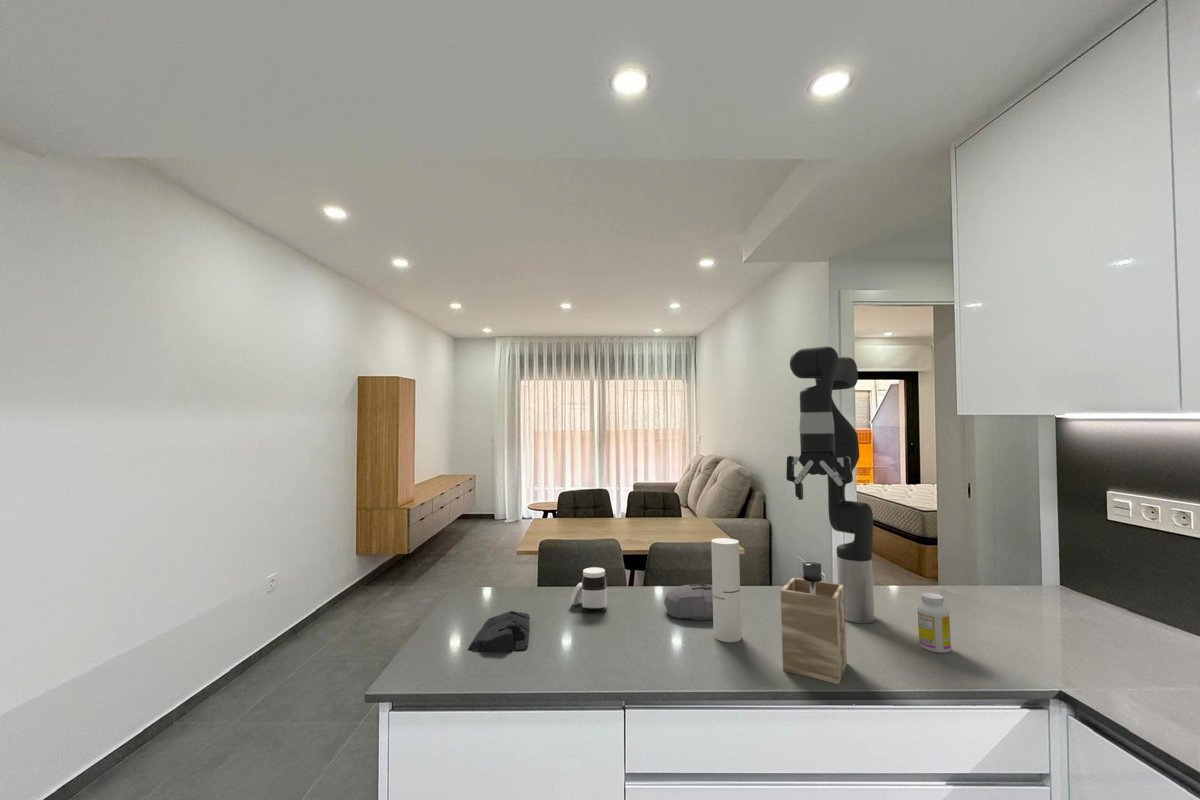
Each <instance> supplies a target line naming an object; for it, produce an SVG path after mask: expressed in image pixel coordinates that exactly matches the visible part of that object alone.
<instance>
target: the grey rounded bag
mask: <svg viewBox="0 0 1200 800" xmlns="http://www.w3.org/2000/svg"><path fill="white" fill-rule="evenodd" d="M663 603H664V606H665V609H666V613H667V614H668V615H669V616H671V617H674V618H677V619H685V620H691V621H697V620H698V621H708V620H709V621H710V620H712V621H713V587H712V584H710V583H706V584H705V583H693V584H683V585H680V586H676V587H673V588H672V589H671V590H669V591H668V592H666V595H665V597H664V600H663Z"/></svg>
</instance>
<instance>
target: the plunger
mask: <svg viewBox="0 0 1200 800" xmlns="http://www.w3.org/2000/svg"><path fill="white" fill-rule="evenodd" d="M822 575H823V574H822V564H821V563H819V562H814V561H804V562H802V579H804V580H806V581H810V594H815V595H816V590H815V582H820V581H821V582H823V580H822Z"/></svg>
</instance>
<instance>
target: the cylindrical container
mask: <svg viewBox="0 0 1200 800" xmlns="http://www.w3.org/2000/svg"><path fill="white" fill-rule="evenodd" d="M710 543H711V577H712V578H711V579H712V582H711V583H712V584H711V585H712V587H713V619H712V621H713V622H712V623H713V624H712V625H713V638H715V639H716V640H718V641H721V642H724V643H737V642H739V641H741V640H742V610H741V607H742V606H741V578H740V577H741V575H740V574H741V573H740V570H741V569H740V541H739V540H737V539H734V538H727V537H725V538H724V537H723V538H722V537H721V538H712V539H711V542H710Z"/></svg>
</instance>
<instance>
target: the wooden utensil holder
mask: <svg viewBox="0 0 1200 800" xmlns="http://www.w3.org/2000/svg"><path fill="white" fill-rule="evenodd" d="M815 590H816V595H815V594H810V581H806V580H804V579H803V578H798V577H791V578H790V580H789V581H788V582H787V583H786V584H785V585H784V586H783V587H782V588H781V589H780V610H781V611H780V612H781V616H780V617H781V642H782V643H781V644H782V650H781V652H782V671H783V672H787V673H791V674H796V675H798V676H799V675H800V676H804V677H808V678H811V679H816V680H820V681H825V682H828V683H831V684H837V685H839V684H840V682H841V679H842V676H843V673H844V672H845V668H846V666H847V663H848V662H847V660H848V659H847V639H846V638H847V637H846V634H847V633H846V620H845V604H844V585H841V584H838V583H832V582H827V581H820V582H815Z"/></svg>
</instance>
